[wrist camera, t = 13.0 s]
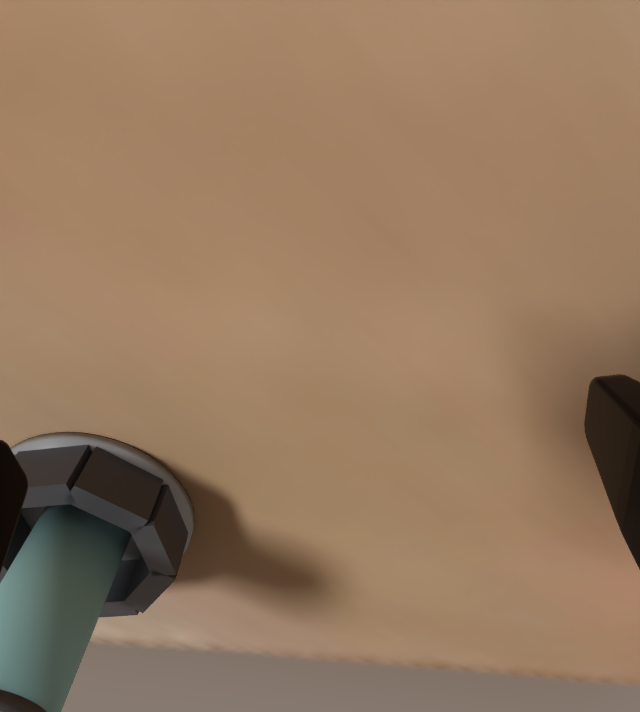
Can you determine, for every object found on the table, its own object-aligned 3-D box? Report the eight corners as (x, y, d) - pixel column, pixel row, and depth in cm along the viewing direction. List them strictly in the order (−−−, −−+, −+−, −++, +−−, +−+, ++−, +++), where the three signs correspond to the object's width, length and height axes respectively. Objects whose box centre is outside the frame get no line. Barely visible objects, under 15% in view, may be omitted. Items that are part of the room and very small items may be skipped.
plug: (95, 473, 26) (-22, 692, 18) (153, 530, 28) (73, 750, 20) (27, 503, 28) (-110, 720, 19) (88, 555, 30) (-13, 772, 21)
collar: (159, 421, 25) (139, 468, 23) (216, 566, 31) (205, 616, 28) (-48, 443, 26) (-90, 489, 24) (42, 578, 32) (16, 628, 29)
